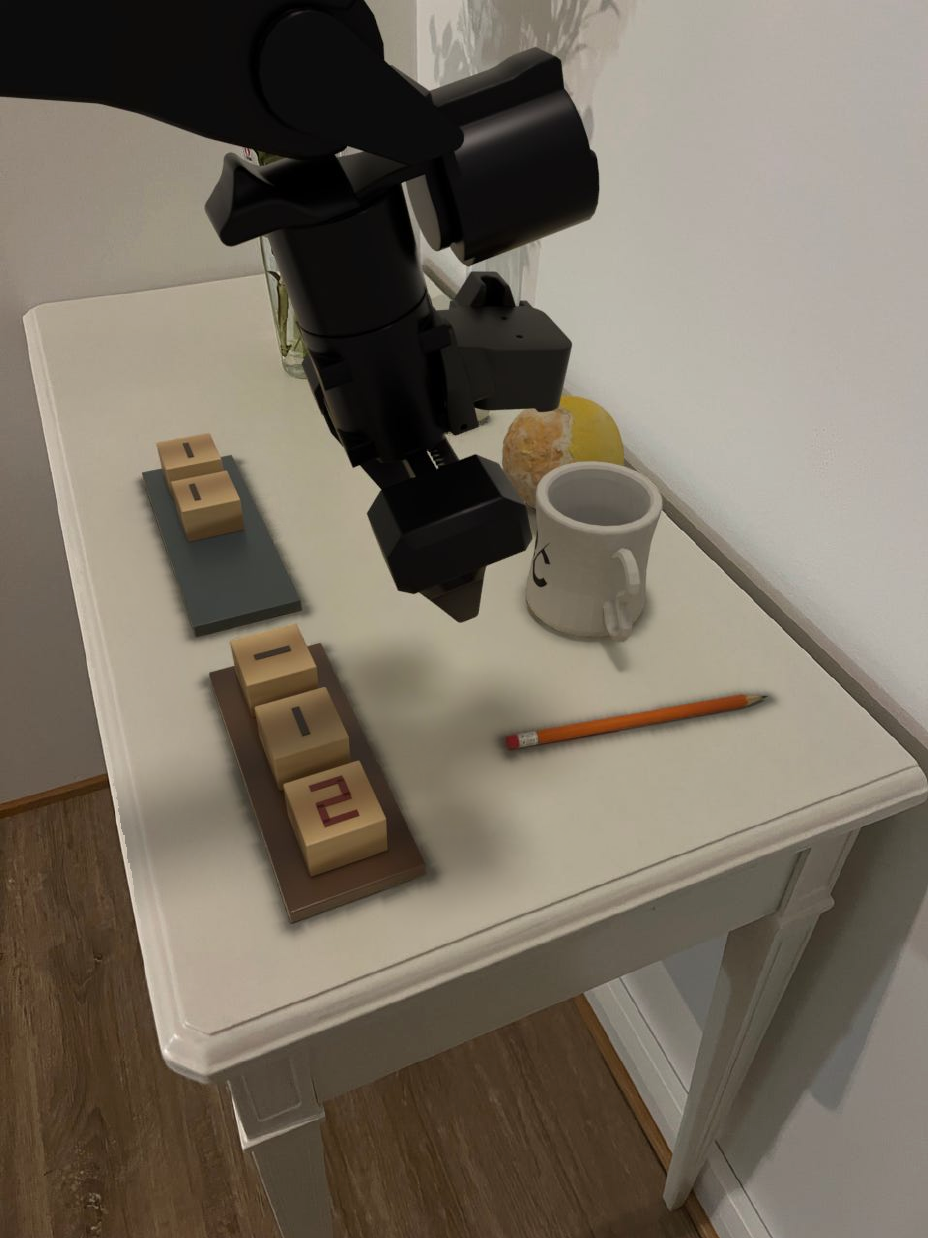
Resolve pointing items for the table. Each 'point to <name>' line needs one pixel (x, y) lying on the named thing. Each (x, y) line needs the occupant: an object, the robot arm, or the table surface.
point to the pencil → (630, 720)
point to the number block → (335, 817)
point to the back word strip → (216, 538)
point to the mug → (592, 548)
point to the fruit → (558, 442)
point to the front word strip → (277, 814)
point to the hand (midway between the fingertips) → (440, 563)
